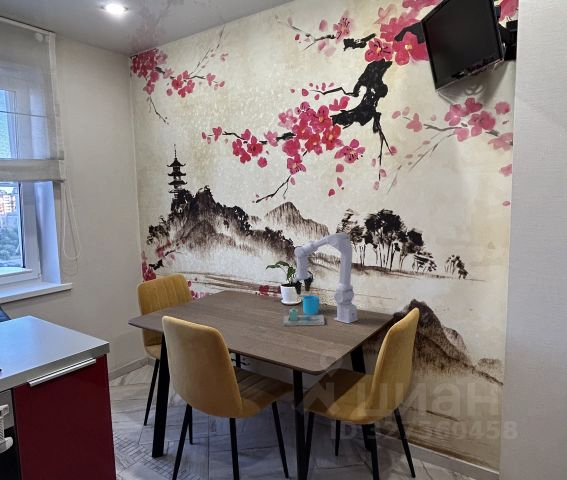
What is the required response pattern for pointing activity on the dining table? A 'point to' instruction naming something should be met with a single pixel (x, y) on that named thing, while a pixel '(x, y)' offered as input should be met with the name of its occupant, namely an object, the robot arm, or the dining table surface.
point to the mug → (310, 304)
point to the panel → (305, 320)
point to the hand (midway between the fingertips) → (303, 292)
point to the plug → (293, 314)
